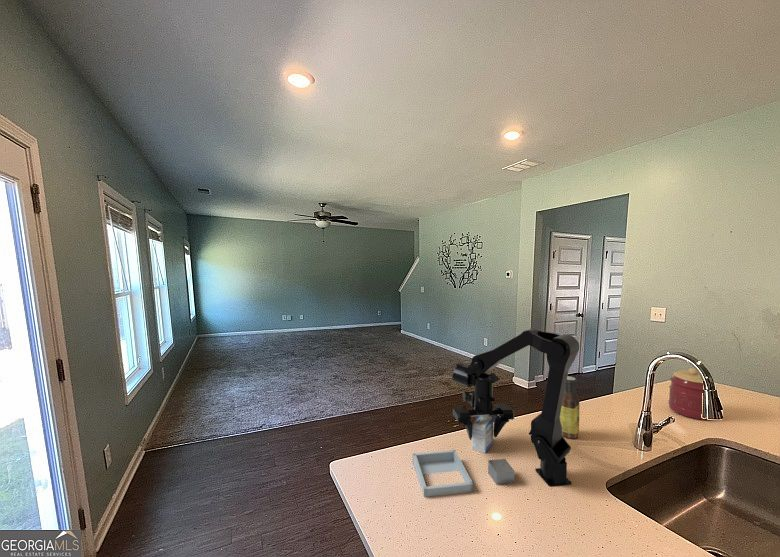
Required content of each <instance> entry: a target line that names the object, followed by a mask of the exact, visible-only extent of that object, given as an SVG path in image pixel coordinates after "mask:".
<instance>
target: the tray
mask: <svg viewBox="0 0 780 557" xmlns="http://www.w3.org/2000/svg"><path fill="white" fill-rule="evenodd" d="M412 465H413V469H414V471H415V474H416V477H417V481H418V483H419V486H420V489H421V492H422V496H423V497H424V498H428V497H437V496H445V495H447V496H448V495H455V494H457V495H458V494H464V493H473V492H474V488H475V486H474V484H475V483H474V482H473V480H472V478H471V476H470V475H469V473H468V471H467V469H466V468H465V465H464V463H463V462H462V460H461V458H460V456H459V455H458V453H457V450H456V449H452V450H451V449H450V450H448V449H447V450H440V451H439V450H438V451H437V450H436V451H428V452H427V451H426V452H417V453H416V452H415V453H412ZM451 472H452V473H453V472H459V474H460V475H461V478H462V479H463V482H459V483H449V484H440V485H429V486H427V485H426V482H425V478H424V475H432V474H440V473H451Z"/></svg>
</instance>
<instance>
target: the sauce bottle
mask: <svg viewBox="0 0 780 557" xmlns="http://www.w3.org/2000/svg"><path fill="white" fill-rule="evenodd" d="M576 383H577V379H576V378H575V377H573V376H571V375H570V376H569V375H567V380H566V386H565V391H564V396H563V402H562V407H561V412H560V422H561V426H562V436H563V437H564V438H568V439H573V438H574V439H577V438H578V437H579V433H580V400H579V397H578V394H577V391H576Z"/></svg>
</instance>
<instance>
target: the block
mask: <svg viewBox="0 0 780 557" xmlns="http://www.w3.org/2000/svg"><path fill="white" fill-rule="evenodd" d="M487 464H488V465H487V467H488V468H487V474H488V475H489V476H490V478H491V479H492V481H493V483H495V485H496V486H498V485H500V486H501V485H509V484H510V485H511V484H515V477H516V476H515V472H516V471H515V469H513V466H511V465H510V463H509V462H508V461H507V459H506V458H498V459H488V461H487Z"/></svg>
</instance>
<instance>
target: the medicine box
mask: <svg viewBox="0 0 780 557" xmlns="http://www.w3.org/2000/svg"><path fill="white" fill-rule="evenodd" d="M493 431H494V416H492V415H487V416H477V417H476V419H475V420H474V421H473V422H472V439H471V448H472V450H474V451H476V452H477V451H478V452H481V453H482V454H486V453H487V452H488V450H489V449H490V447H491V445H492V444H493V443H494V432H493Z"/></svg>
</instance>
